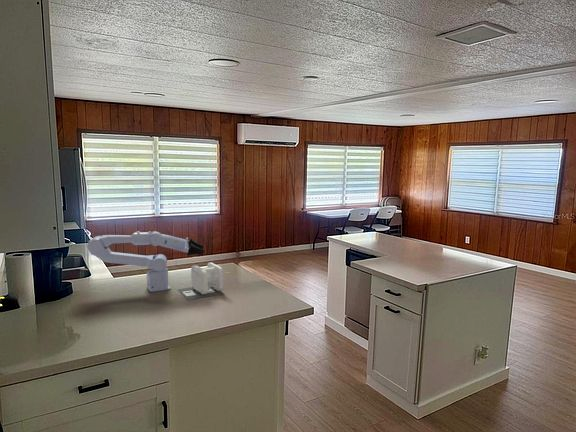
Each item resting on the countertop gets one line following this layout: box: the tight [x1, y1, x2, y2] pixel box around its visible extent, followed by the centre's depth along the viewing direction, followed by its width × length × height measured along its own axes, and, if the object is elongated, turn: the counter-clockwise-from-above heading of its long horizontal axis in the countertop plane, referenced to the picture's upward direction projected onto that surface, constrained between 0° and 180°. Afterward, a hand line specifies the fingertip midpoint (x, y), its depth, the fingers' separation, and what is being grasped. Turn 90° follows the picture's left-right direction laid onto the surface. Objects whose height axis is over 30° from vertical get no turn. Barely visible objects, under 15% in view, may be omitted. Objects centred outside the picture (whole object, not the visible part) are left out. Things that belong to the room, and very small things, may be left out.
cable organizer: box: [190, 262, 224, 295], centre depth 185 cm, size 15×11×12 cm
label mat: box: [177, 286, 225, 301], centre depth 184 cm, size 17×16×1 cm
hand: (203, 250), depth 191 cm, fingers open, 7 cm apart
